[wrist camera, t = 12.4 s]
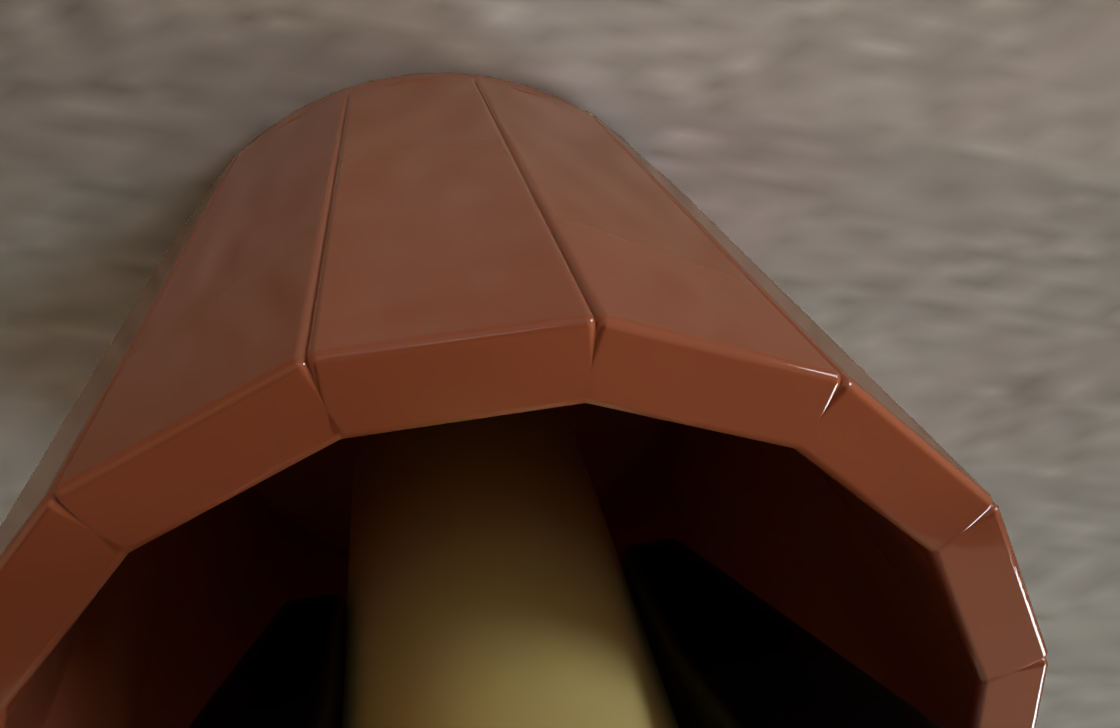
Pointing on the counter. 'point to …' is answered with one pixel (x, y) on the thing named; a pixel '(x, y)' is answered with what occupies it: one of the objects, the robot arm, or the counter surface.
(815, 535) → the cup
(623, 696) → the tan solid cylinder
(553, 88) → the counter surface
